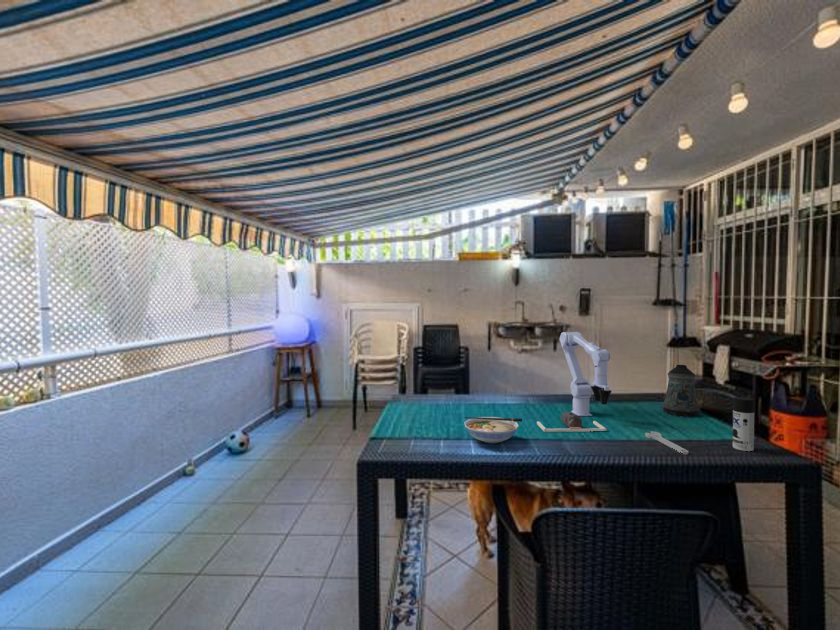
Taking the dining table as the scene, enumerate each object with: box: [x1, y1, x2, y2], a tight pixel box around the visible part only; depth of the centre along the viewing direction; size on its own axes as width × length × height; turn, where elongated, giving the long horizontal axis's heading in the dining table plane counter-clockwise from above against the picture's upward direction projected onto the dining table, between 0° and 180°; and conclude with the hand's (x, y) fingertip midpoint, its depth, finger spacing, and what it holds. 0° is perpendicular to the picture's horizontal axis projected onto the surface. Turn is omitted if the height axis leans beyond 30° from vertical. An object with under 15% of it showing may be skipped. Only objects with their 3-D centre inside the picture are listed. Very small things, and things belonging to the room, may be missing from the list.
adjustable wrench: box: [644, 430, 689, 455], centre depth 173 cm, size 25×6×2 cm, turn 177°
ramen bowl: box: [464, 416, 523, 445], centre depth 178 cm, size 25×23×8 cm
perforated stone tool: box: [560, 411, 583, 428], centre depth 198 cm, size 15×5×7 cm, turn 7°
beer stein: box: [662, 364, 701, 418], centre depth 221 cm, size 16×19×25 cm
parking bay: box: [536, 420, 608, 433], centre depth 197 cm, size 13×28×2 cm, turn 89°
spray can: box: [732, 396, 755, 453], centre depth 165 cm, size 7×7×20 cm
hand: (600, 402), depth 206 cm, fingers open, 7 cm apart
